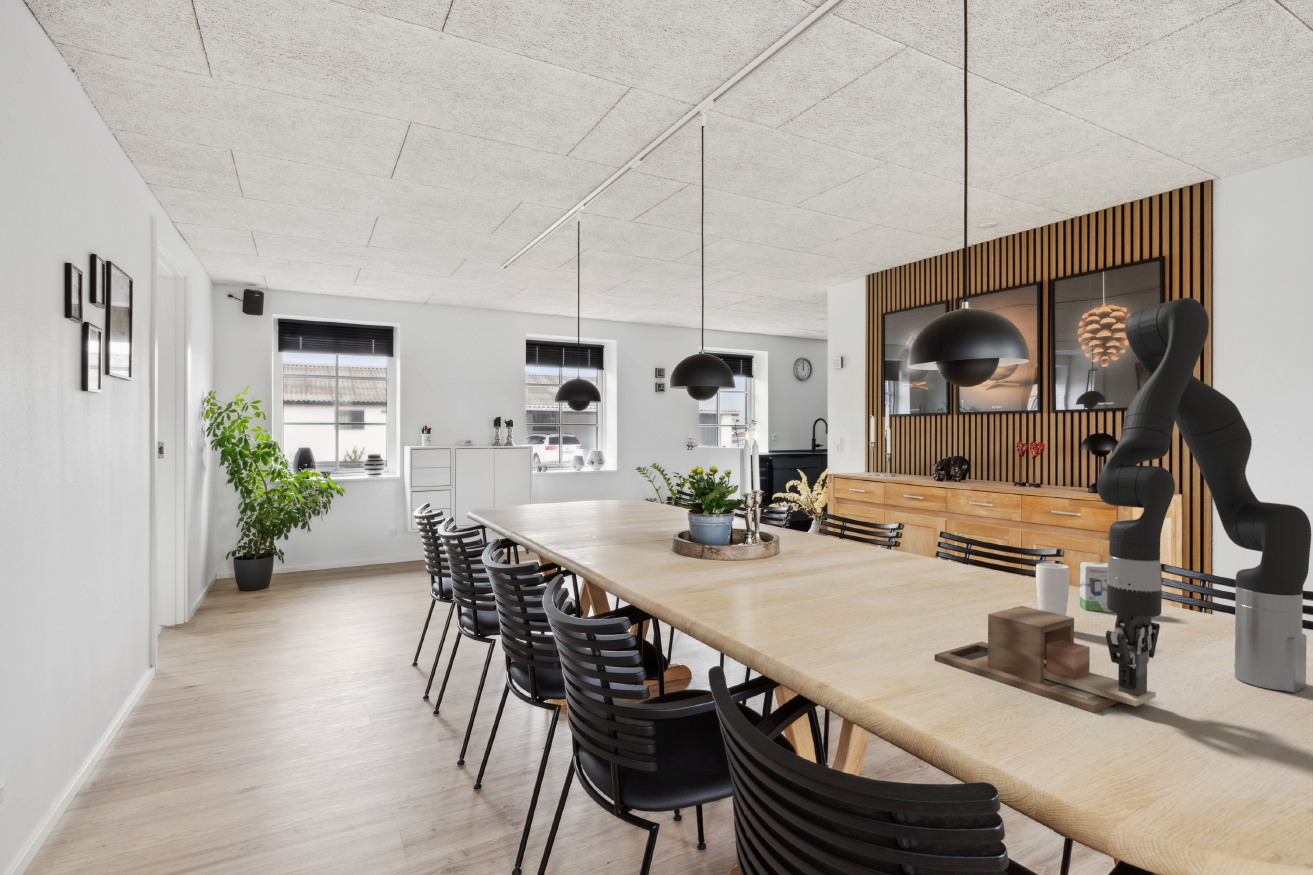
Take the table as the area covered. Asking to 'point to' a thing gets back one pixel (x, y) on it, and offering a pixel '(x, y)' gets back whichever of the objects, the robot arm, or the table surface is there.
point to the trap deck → (1023, 655)
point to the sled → (1073, 670)
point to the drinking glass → (1052, 587)
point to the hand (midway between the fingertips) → (1132, 685)
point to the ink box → (1093, 586)
